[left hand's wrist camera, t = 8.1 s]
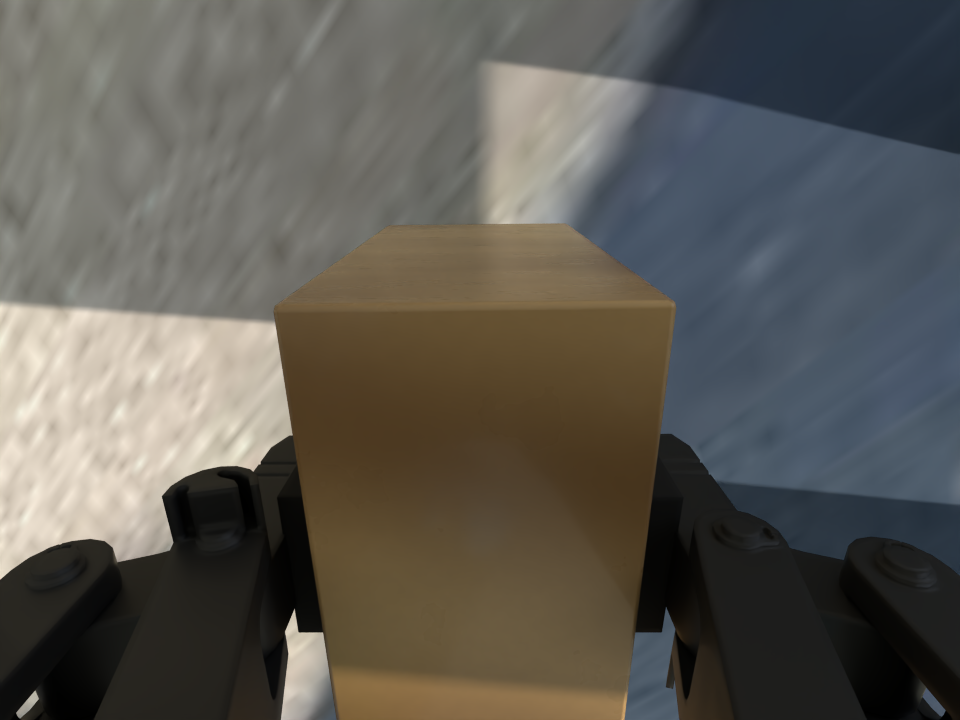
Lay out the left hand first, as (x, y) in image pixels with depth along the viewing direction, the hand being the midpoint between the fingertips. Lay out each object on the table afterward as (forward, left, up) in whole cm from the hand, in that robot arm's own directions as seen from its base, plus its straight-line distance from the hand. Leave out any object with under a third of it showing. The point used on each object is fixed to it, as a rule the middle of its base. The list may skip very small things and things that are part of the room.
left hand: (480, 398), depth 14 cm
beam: (+24, +27, -1) cm, 36 cm away
